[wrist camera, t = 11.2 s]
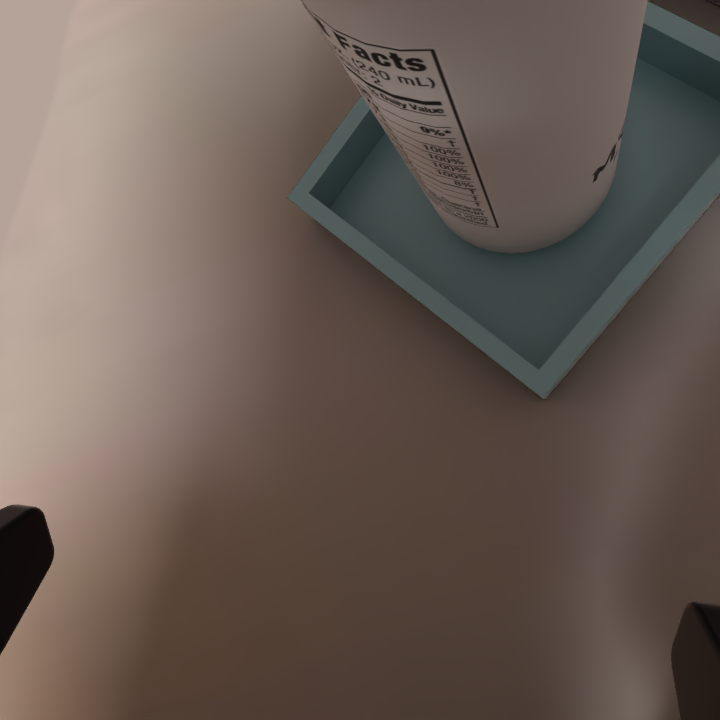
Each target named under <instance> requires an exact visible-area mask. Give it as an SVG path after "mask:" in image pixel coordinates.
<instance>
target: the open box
mask: <svg viewBox="0 0 720 720" xmlns="http://www.w3.org/2000/svg"><path fill="white" fill-rule="evenodd" d="M707 1H709V2H711V3H714V4H716V5H718V6H720V0H707Z"/></svg>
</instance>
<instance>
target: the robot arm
mask: <svg viewBox="0 0 720 720" xmlns="http://www.w3.org/2000/svg"><path fill="white" fill-rule="evenodd" d="M53 557H54V546H53V542H52V539H51V536H50V532H49V529H48V526H47V522H46V519H45V516H44V513H43V512H42V511H41V510H40V509H39V508H37V507H32V506H25V505H10V506H7V507H5V508H3V509H1V510H0V654H1V653H2V651H3V649H4V648H5V646H6V644H7V642H8V641H9V639H10V637H11V635H12V634H13V632H14V630H15V628H16V626H17V625H18V623H19V621H20V619H21V618H22V616H23V614H24V612H25V610H26V609H27V607H28V605H29V603H30V602H31V600H32V598H33V596H34V595H35V593H36V591H37V589H38V587H39V586H40V584H41V582H42V580H43V579H44V577H45V575H46V573H47V571H48V570H49V568H50V566H51V564H52V561H53ZM671 662H672V670H673V676H674V682H675V688H676V694H677V700H678V706H679V712H680V718H681V720H720V605H715V604H708V603H701V602H691V603H689V604H688V605H687V606H686V608H685V610H684V612H683V615H682V618H681V621H680V624H679V627H678V630H677V633H676V636H675V639H674V642H673V645H672V651H671Z"/></svg>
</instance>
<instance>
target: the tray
mask: <svg viewBox="0 0 720 720" xmlns="http://www.w3.org/2000/svg"><path fill="white" fill-rule="evenodd" d="M719 195H720V37H719V36H717V35H715V34H713V33H711V32H709V31H707V30H705V29H703V28H701V27H699V26H697V25H695V24H693V23H691V22H689V21H687V20H685V19H683V18H681V17H679V16H677V15H675V14H673V13H671V12H669V11H667V10H665V9H663V8H661V7H659V6H657V5H655V4H653V3H651V2H649V1H647V6H646V11H645V17H644V22H643V27H642V33H641V38H640V43H639V49H638V54H637V59H636V65H635V70H634V75H633V80H632V86H631V91H630V96H629V102H628V107H627V112H626V118H625V123H624V128H623V134H622V139H621V144H620V150H619V155H618V160H617V165H616V171H615V176H614V179H613V182H612V184H611V187H610V189H609V192H608V194H607V196H606V198H605V199H604V201H603V202H602V204H601V205H600V207H599V208H598V210H597V212H596V213H595V214H594V215H593V216H592V217H591V218H590V219H589V220H588V221H587V222H586V223H585V224H584V225H583V226H582V227H581V228H579V229H578V230H577V231H575V232H574V233H572V234H571V235H570V236H568V237H567V238H565V239H563V240H561V241H559V242H557V243H555V244H553V245H551V246H549V247H545V248H542V249H538V250H534V251H531V252H522V253H501V252H492V251H489V250H485V249H482V248H479V247H476V246H474V245H472V244H470V243H468V242H466V241H465V240H463V239H461V238H460V237H459V236H457V235H456V234H455V233H454V232H453V231H452V230H450V229H449V228H448V227H447V225H446V224H445V223H444V221H443V220H442V219H441V217H440V216H439V215H438V213H437V212H436V210H435V209H434V207H433V205H432V204H431V202H430V201H429V199H428V198H427V196H426V195H425V193H424V191H423V190H422V188H421V187H420V185H419V184H418V182H417V181H416V179H415V177H414V176H413V174H412V173H411V171H410V170H409V168H408V166H407V165H406V163H405V162H404V160H403V159H402V157H401V156H400V154H399V152H398V151H397V149H396V148H395V146H394V145H393V143H392V142H391V140H390V138H389V137H388V135H387V134H386V132H385V131H384V129H383V128H382V126H381V124H380V123H379V121H378V120H377V118H376V117H375V115H374V114H373V112H372V110H371V109H370V107H369V106H368V104H367V103H366V101H365V100H364V98H363V96H362V95H361V97H360V98H359V99H358V101H357V102H356V104H355V105H354V106H353V108H352V109H351V110H350V112H349V113H348V115H347V116H346V117H345V119H344V120H343V121H342V123H341V124H340V126H339V127H338V128H337V130H336V131H335V132H334V134H333V135H332V137H331V138H330V139H329V141H328V142H327V143H326V145H325V146H324V148H323V149H322V150H321V152H320V153H319V154H318V156H317V157H316V159H315V160H314V161H313V163H312V164H311V166H310V167H309V168H308V170H307V171H306V172H305V174H304V175H303V177H302V178H301V179H300V181H299V182H298V183H297V185H296V186H295V188H294V189H293V190H292V192H291V193H290V194H289V196H288V197H287V198H288V199H289V200H290V201H292V202H293V203H294V204H295V205H297V206H298V207H299V208H301V209H302V210H303V211H304V212H306V213H307V214H308V215H309V216H311V217H312V218H313V219H315V220H316V221H317V222H318V223H320V224H321V225H322V226H323V227H325V228H326V229H327V230H329V231H330V232H331V233H332V234H334V235H335V236H336V237H338V238H339V239H340V240H341V241H343V242H344V243H345V244H346V245H348V246H349V247H350V248H352V249H353V250H354V251H355V252H357V253H358V254H359V255H360V256H362V257H363V258H364V259H366V260H367V261H368V262H369V263H371V264H372V265H373V266H374V267H376V268H377V269H378V270H380V271H381V272H382V273H383V274H385V275H386V276H387V277H388V278H390V279H391V280H392V281H394V282H395V283H396V284H397V285H399V286H400V287H401V288H403V289H404V290H405V291H406V292H408V293H409V294H410V295H411V296H413V297H414V298H415V299H417V300H418V301H419V302H420V303H422V304H423V305H424V306H425V307H427V308H428V309H429V310H431V311H432V312H433V313H434V314H436V315H437V316H438V317H439V318H441V319H442V320H443V321H445V322H446V323H447V324H448V325H450V326H451V327H452V328H453V329H455V330H456V331H457V332H459V333H460V334H461V335H462V336H464V337H465V338H466V339H467V340H469V341H470V342H471V343H473V344H474V345H475V346H476V347H478V348H479V349H480V350H482V351H483V352H484V353H485V354H487V355H488V356H489V357H490V358H492V359H493V360H494V361H496V362H497V363H498V364H499V365H501V366H502V367H503V368H504V369H506V370H507V371H508V372H510V373H511V374H512V375H513V376H515V377H516V378H517V379H518V380H520V381H521V382H522V383H524V384H525V385H526V386H527V387H529V388H530V389H531V390H532V391H534V392H535V393H536V394H538V395H539V396H540V397H541V398H543V399H544V400H545V399H546V398H547V397H548V396H549V395H550V394H551V392H552V391H553V390H554V389H555V388H556V387H557V385H558V384H559V383H560V382H561V381H562V379H563V378H564V377H565V376H566V375H567V374H568V372H569V371H570V370H571V369H572V368H573V367H574V365H575V364H576V363H577V362H578V361H579V359H580V358H581V357H582V356H583V355H584V354H585V352H586V351H587V350H588V349H589V348H590V347H591V345H592V344H593V343H594V342H595V341H596V339H597V338H598V337H599V336H600V335H601V334H602V332H603V331H604V330H605V329H606V328H607V327H608V325H609V324H610V323H611V322H612V321H613V319H614V318H615V317H616V316H617V315H618V314H619V312H620V311H621V310H622V309H623V308H624V307H625V305H626V304H627V303H628V302H629V301H630V299H631V298H632V297H633V296H634V295H635V294H636V292H637V291H638V290H639V289H640V288H641V287H642V285H643V284H644V283H645V282H646V281H647V279H648V278H649V277H650V276H651V275H652V274H653V272H654V271H655V270H656V269H657V268H658V267H659V265H660V264H661V263H662V262H663V261H664V259H665V258H666V257H667V256H668V255H669V254H670V252H671V251H672V250H673V249H674V248H675V247H676V245H677V244H678V243H679V242H680V241H681V239H682V238H683V237H684V236H685V235H686V234H687V232H688V231H689V230H690V229H691V228H692V227H693V225H694V224H695V223H696V222H697V221H698V219H699V218H700V217H701V216H702V215H703V214H704V212H705V211H706V210H707V209H708V208H709V207H710V205H711V204H712V203H713V202H714V201H715V199H716V198H717V197H718V196H719Z"/></svg>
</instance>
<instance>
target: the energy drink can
mask: <svg viewBox="0 0 720 720" xmlns="http://www.w3.org/2000/svg"><path fill="white" fill-rule="evenodd" d="M301 1H302V3H303V5H304V6H305V8H306V9H307V11H308V12H309V14H310V15H311V17H312V19H313V20H314V22H315V23H316V25H317V26H318V28H319V29H320V31H321V33H322V34H323V36H324V37H325V39H326V40H327V42H328V44H329V45H330V47H331V48H332V50H333V51H334V53H335V54H336V56H337V58H338V59H339V61H340V62H341V64H342V65H343V67H344V68H345V70H346V72H347V73H348V75H349V76H350V78H351V79H352V81H353V82H354V84H355V86H356V87H357V89H358V90H359V92H360V93H361V95H362V96H363V98H364V100H365V101H366V103H367V104H368V106H369V107H370V109H371V110H372V112H373V114H374V115H375V117H376V118H377V120H378V121H379V123H380V124H381V126H382V128H383V129H384V131H385V132H386V134H387V135H388V137H389V138H390V140H391V142H392V143H393V145H394V146H395V148H396V149H397V151H398V152H399V154H400V156H401V157H402V159H403V160H404V162H405V163H406V165H407V166H408V168H409V170H410V171H411V173H412V174H413V176H414V177H415V179H416V181H417V182H418V184H419V185H420V187H421V188H422V190H423V191H424V193H425V195H426V196H427V198H428V199H429V201H430V202H431V204H432V205H433V207H434V209H435V210H436V212H437V213H438V215H439V216H440V217H441V219H442V220H443V221H444V223H445V224H446V225H447V227H448V228H449V229H450V230H452V231H453V232H454V233H455V234H456V235H457V236H459V237H460V238H461V239H463V240H465V241H466V242H468V243H470V244H472V245H474V246H476V247H479V248H482V249H485V250H489V251H492V252H501V253H522V252H531V251H534V250H538V249H542V248H545V247H549V246H551V245H553V244H555V243H557V242H559V241H561V240H563V239H565V238H567V237H568V236H570V235H571V234H572V233H574V232H575V231H577V230H578V229H579V228H581V227H582V226H583V225H584V224H585V223H586V222H587V221H588V220H589V219H590V218H591V217H592V216H593V215H594V214H595V213H596V212H597V210H598V208H599V207H600V205H601V204H602V202H603V201H604V199H605V198H606V196H607V194H608V192H609V189H610V187H611V184H612V182H613V179H614V176H615V171H616V165H617V160H618V155H619V150H620V144H621V139H622V134H623V128H624V123H625V118H626V112H627V107H628V102H629V96H630V91H631V86H632V80H633V75H634V70H635V65H636V59H637V54H638V49H639V43H640V38H641V33H642V27H643V22H644V17H645V11H646V6H647V1H648V0H301Z"/></svg>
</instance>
